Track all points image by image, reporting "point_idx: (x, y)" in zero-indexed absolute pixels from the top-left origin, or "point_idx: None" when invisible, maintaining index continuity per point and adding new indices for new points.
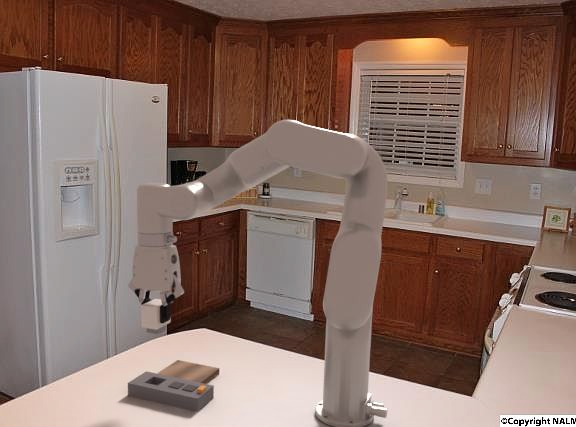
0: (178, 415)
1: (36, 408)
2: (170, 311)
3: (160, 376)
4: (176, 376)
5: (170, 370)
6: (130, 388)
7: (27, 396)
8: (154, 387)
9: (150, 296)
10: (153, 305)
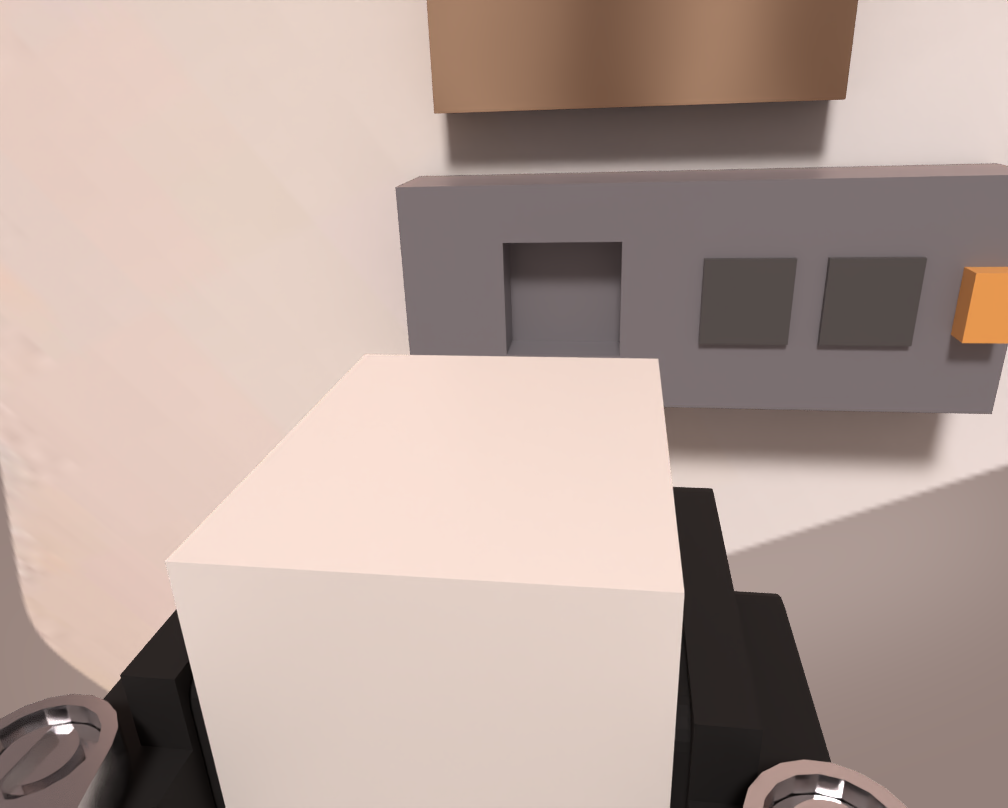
0: (844, 443)
1: (161, 619)
2: (799, 674)
3: (548, 217)
4: (602, 55)
5: None
6: None
7: (26, 551)
8: None
9: (93, 774)
10: None
